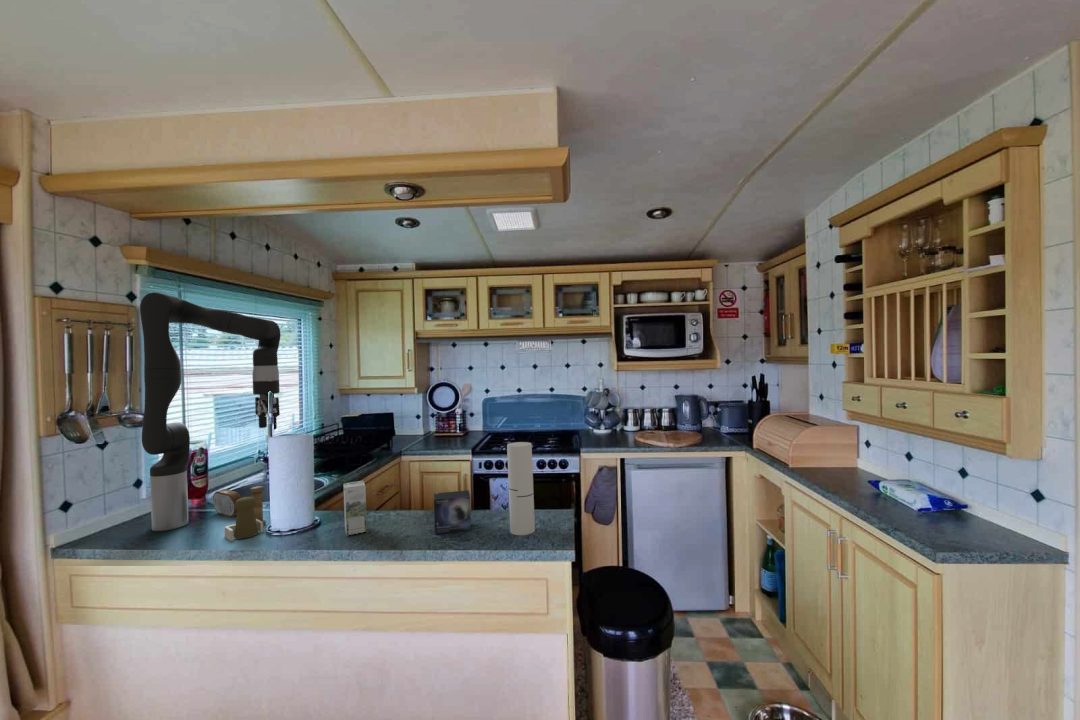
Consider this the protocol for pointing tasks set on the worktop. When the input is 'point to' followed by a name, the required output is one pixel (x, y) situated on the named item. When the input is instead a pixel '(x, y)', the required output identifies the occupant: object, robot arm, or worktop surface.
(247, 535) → the cork
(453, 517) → the small box
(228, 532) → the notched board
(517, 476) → the cylindrical container
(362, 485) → the syrup box
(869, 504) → the worktop surface
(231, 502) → the bread slice
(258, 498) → the bobbin
